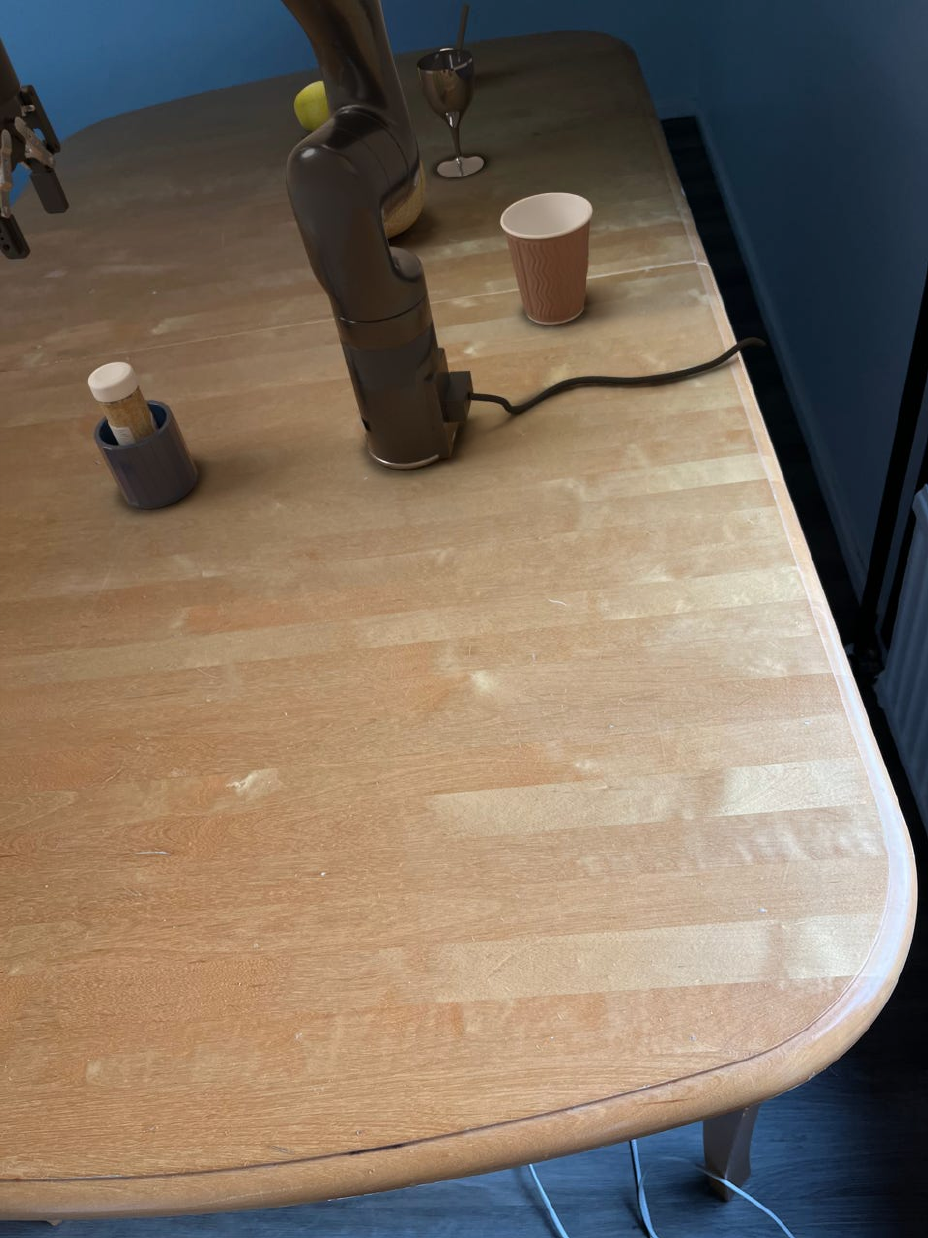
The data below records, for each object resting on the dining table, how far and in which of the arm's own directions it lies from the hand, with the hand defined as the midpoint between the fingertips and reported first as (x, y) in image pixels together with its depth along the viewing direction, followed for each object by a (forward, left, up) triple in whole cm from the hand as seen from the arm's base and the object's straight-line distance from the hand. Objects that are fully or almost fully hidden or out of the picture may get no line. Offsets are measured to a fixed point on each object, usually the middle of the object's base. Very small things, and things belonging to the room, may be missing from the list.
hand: (39, 233), depth 93 cm
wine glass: (-24, -70, -28) cm, 79 cm away
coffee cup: (-42, -28, -28) cm, 58 cm away
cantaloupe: (-16, -50, -28) cm, 60 cm away
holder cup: (-2, +3, -27) cm, 28 cm away
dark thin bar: (-18, -101, -28) cm, 107 cm away
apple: (+1, -87, -28) cm, 92 cm away
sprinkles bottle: (-2, +3, -27) cm, 27 cm away
